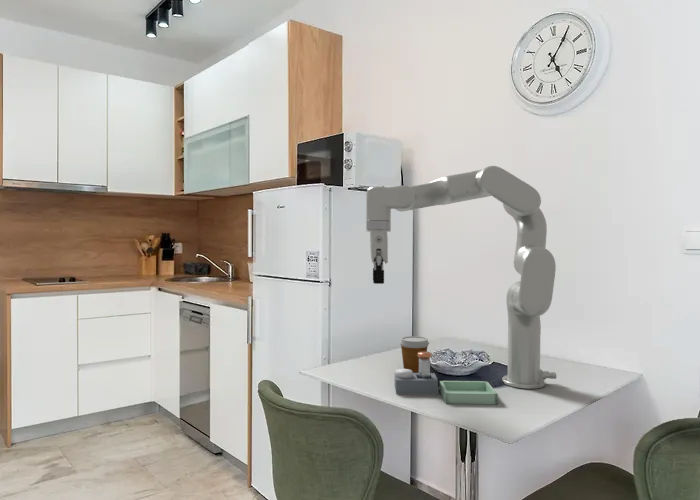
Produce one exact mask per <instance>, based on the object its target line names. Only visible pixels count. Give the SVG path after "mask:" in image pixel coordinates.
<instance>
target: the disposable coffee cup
mask: <svg viewBox="0 0 700 500" xmlns="http://www.w3.org/2000/svg"><path fill="white" fill-rule="evenodd" d="M399 344H400V347H401V349H400V350H401V356H402V364H403V369H409V370H412V373H419V357H418V352H428V347H429V344H430V343H429V339H428V338H427V337H425V336H419V335H417V336H416V335H413V336H412V335H410V336H403V337H401V339H400V341H399Z"/></svg>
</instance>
